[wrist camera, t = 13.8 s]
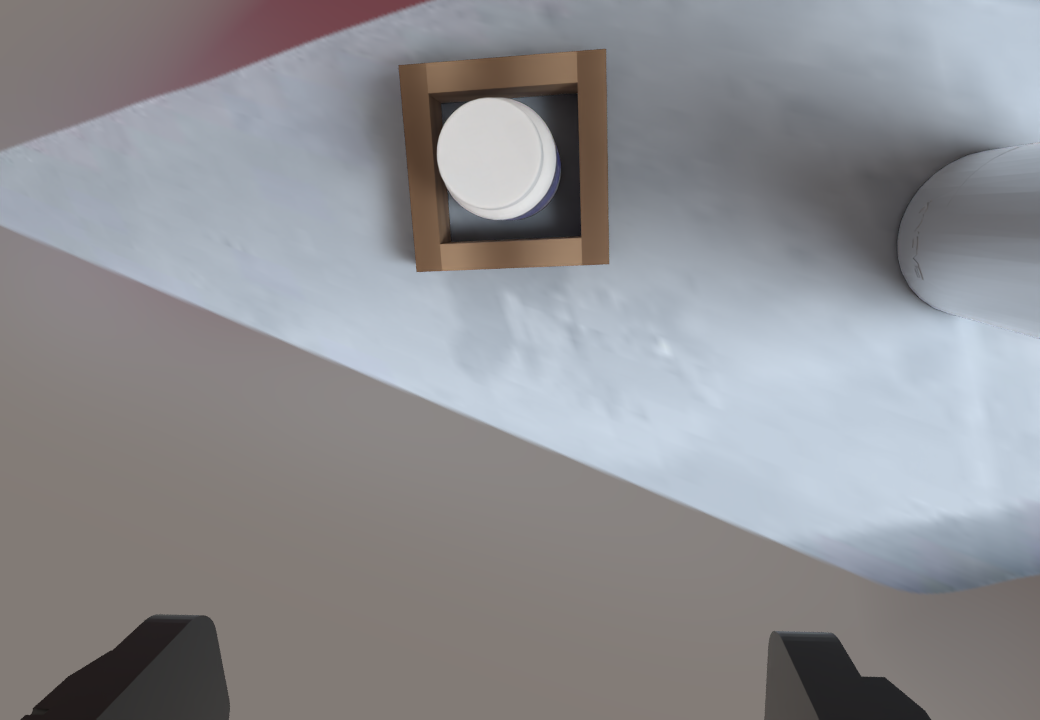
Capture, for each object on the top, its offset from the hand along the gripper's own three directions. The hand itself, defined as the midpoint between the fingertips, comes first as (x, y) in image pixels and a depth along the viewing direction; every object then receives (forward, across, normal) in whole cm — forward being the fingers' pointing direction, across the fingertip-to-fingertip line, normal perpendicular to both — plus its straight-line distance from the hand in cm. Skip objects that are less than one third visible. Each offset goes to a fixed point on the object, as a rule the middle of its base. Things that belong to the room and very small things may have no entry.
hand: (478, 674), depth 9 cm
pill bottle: (+30, +2, -9) cm, 32 cm away
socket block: (+30, +2, -9) cm, 32 cm away
